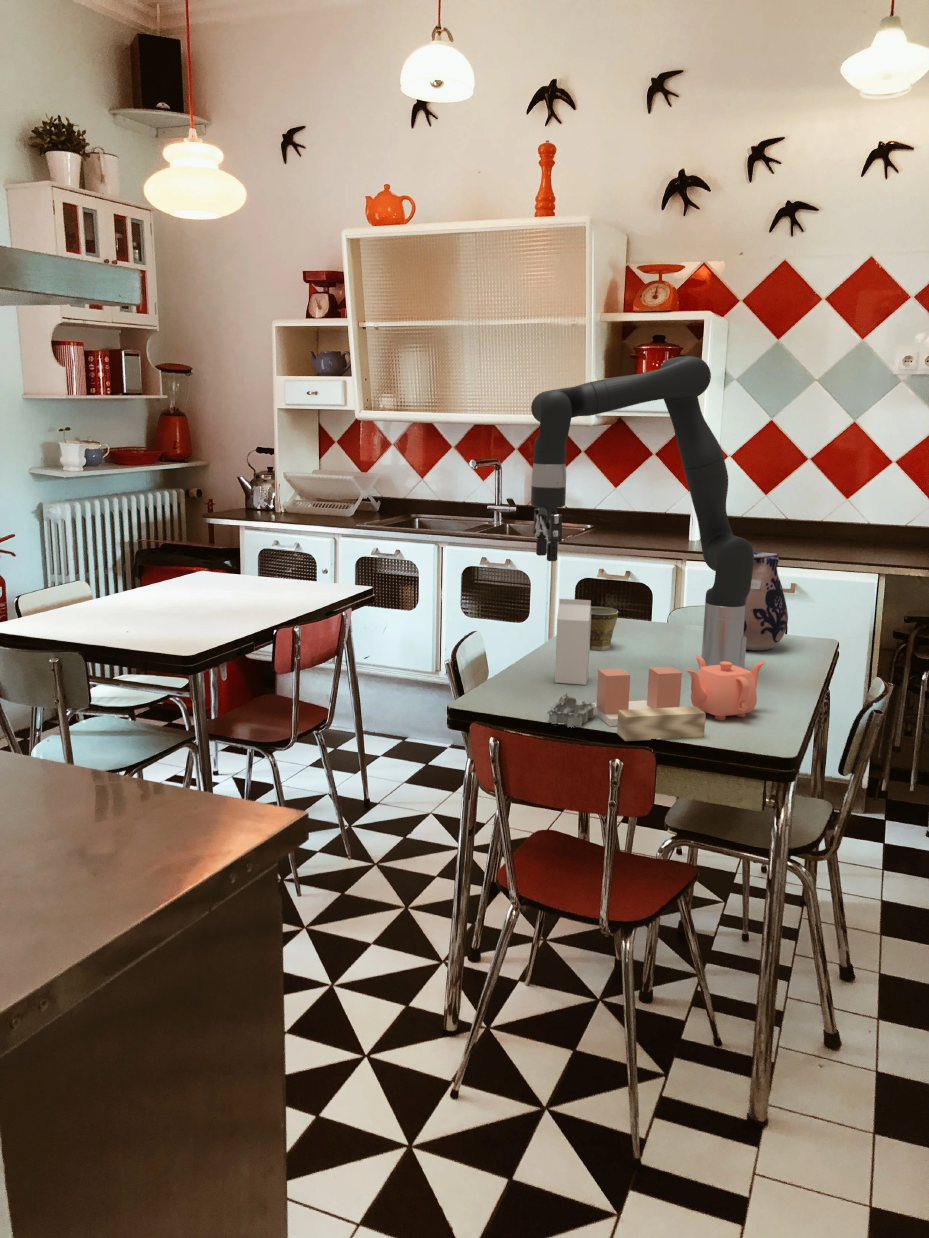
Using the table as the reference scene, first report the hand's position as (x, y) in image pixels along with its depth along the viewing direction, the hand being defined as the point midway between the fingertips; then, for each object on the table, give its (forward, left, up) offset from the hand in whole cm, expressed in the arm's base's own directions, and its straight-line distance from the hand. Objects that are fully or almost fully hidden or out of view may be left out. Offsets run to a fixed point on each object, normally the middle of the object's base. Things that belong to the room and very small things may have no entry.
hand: (546, 558), depth 218 cm
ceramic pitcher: (-64, -27, -29) cm, 76 cm away
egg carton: (+2, +27, -29) cm, 40 cm away
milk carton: (-7, -1, -29) cm, 30 cm away
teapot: (-31, +26, -29) cm, 50 cm away
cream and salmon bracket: (-12, +27, -29) cm, 41 cm away
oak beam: (-12, +39, -29) cm, 50 cm away
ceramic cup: (-23, -32, -29) cm, 49 cm away
